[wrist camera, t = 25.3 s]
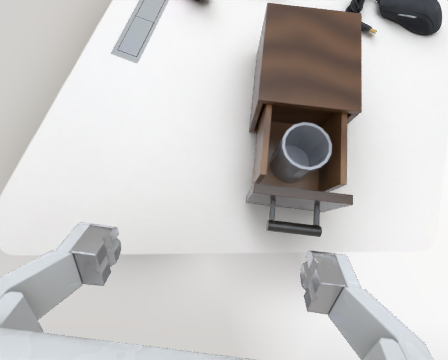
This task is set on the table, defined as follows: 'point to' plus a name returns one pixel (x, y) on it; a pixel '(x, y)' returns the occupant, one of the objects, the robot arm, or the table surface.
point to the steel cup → (300, 152)
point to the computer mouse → (406, 14)
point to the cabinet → (308, 61)
